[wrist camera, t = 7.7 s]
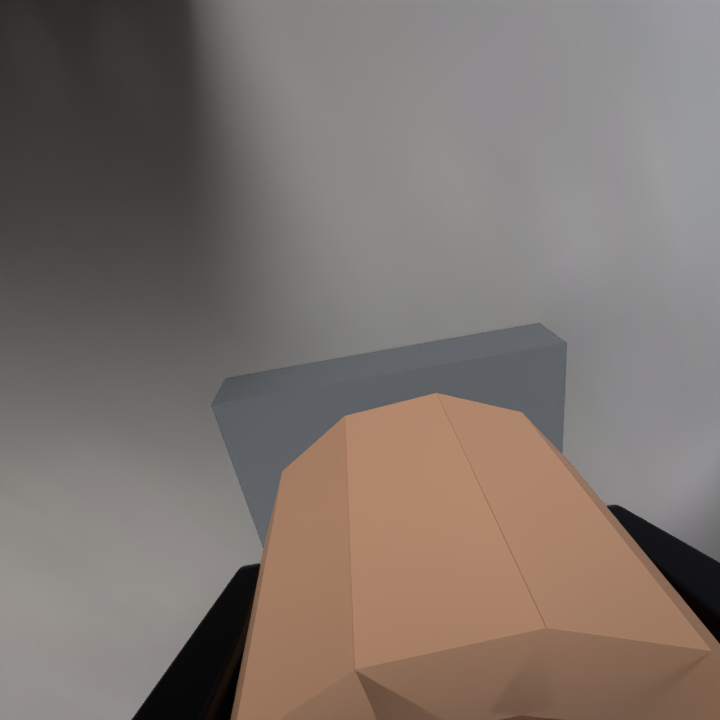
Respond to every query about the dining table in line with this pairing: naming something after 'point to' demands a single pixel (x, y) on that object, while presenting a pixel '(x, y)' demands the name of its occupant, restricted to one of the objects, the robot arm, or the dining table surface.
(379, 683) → the ring
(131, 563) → the dining table surface
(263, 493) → the board
